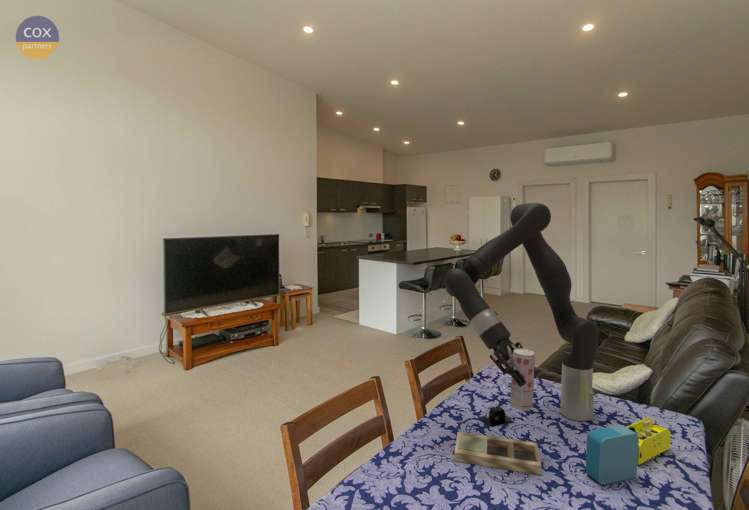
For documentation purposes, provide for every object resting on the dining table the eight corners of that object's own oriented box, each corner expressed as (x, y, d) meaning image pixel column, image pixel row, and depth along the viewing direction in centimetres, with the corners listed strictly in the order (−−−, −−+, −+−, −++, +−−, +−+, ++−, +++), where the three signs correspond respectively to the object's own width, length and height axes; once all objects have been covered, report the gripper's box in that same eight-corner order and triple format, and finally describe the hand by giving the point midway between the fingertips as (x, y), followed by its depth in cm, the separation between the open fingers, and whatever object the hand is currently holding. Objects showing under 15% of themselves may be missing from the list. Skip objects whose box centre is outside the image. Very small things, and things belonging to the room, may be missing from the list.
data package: (621, 467, 104) (623, 423, 104) (637, 477, 100) (639, 432, 99) (584, 475, 101) (586, 430, 100) (599, 486, 97) (601, 439, 96)
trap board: (536, 451, 112) (536, 442, 111) (541, 475, 101) (541, 465, 101) (457, 439, 118) (457, 431, 118) (454, 461, 107) (454, 451, 107)
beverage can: (536, 409, 104) (540, 354, 103) (517, 411, 103) (520, 355, 102) (524, 400, 110) (527, 347, 108) (505, 401, 108) (508, 348, 107)
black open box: (506, 414, 134) (507, 401, 134) (520, 425, 127) (520, 411, 127) (474, 419, 131) (474, 406, 131) (486, 430, 124) (486, 416, 124)
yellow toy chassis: (648, 441, 117) (650, 414, 116) (670, 451, 112) (672, 423, 111) (617, 457, 109) (619, 428, 108) (639, 468, 104) (641, 438, 103)
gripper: (485, 325, 105) (527, 382, 97) (511, 317, 115) (550, 368, 107) (467, 340, 109) (505, 396, 101) (493, 331, 119) (530, 381, 111)
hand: (528, 381), depth 104 cm, fingers closed on beverage can, 5 cm apart
